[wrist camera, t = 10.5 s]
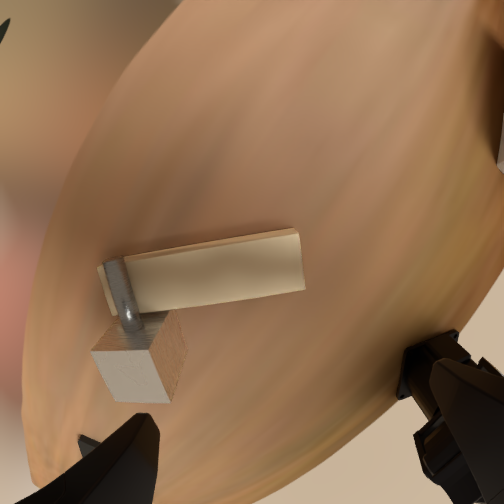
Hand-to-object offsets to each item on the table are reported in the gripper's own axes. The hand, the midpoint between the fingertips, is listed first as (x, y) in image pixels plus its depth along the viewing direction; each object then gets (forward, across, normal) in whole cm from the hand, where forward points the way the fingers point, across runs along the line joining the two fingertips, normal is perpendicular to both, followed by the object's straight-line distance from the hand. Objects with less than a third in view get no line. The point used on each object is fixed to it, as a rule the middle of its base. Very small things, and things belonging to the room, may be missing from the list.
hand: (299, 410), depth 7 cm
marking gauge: (+12, +9, +1) cm, 15 cm away
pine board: (+12, +4, -1) cm, 13 cm away
